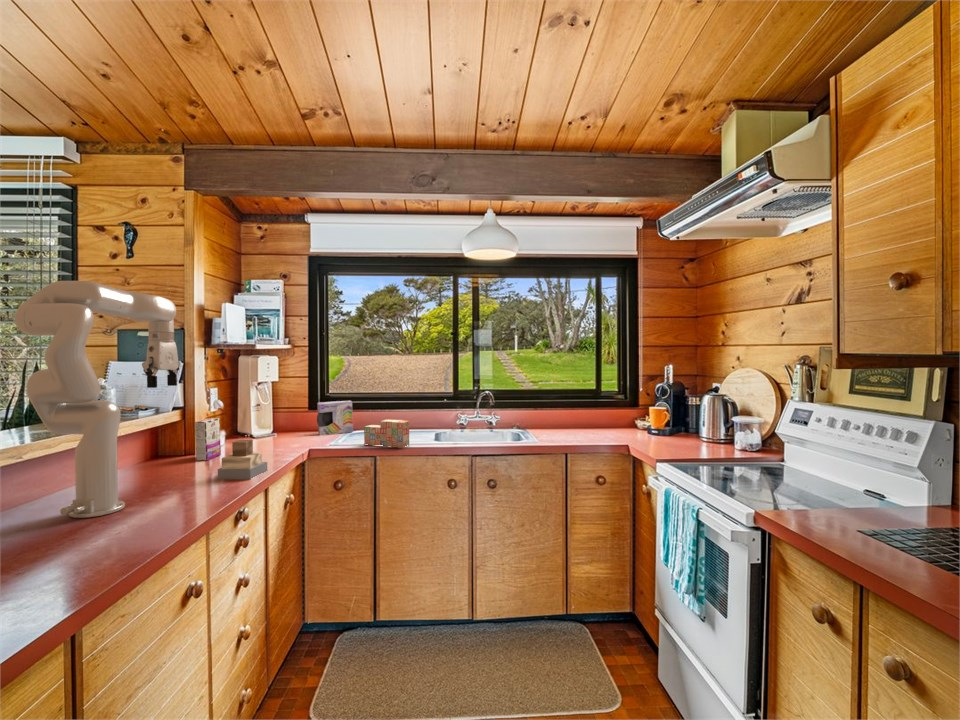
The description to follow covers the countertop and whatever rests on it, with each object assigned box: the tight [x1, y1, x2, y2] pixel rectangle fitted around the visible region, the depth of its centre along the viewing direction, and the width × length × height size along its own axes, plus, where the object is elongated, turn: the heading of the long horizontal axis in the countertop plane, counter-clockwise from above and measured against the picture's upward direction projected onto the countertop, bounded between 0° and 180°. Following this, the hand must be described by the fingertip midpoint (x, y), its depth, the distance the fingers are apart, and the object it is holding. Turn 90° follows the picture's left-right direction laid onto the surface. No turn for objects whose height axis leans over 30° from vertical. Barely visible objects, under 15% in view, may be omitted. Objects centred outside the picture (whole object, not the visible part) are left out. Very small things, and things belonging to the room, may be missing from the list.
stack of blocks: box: [363, 419, 410, 449], centre depth 233 cm, size 21×6×12 cm, turn 70°
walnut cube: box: [231, 439, 254, 456], centre depth 179 cm, size 5×5×5 cm
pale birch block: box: [221, 451, 263, 469], centre depth 179 cm, size 10×10×4 cm
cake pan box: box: [316, 400, 354, 436], centre depth 269 cm, size 19×5×18 cm, turn 119°
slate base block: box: [217, 461, 268, 480], centre depth 179 cm, size 12×12×4 cm
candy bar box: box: [194, 417, 222, 461], centre depth 209 cm, size 11×5×16 cm, turn 0°
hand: (162, 386), depth 171 cm, fingers open, 9 cm apart
